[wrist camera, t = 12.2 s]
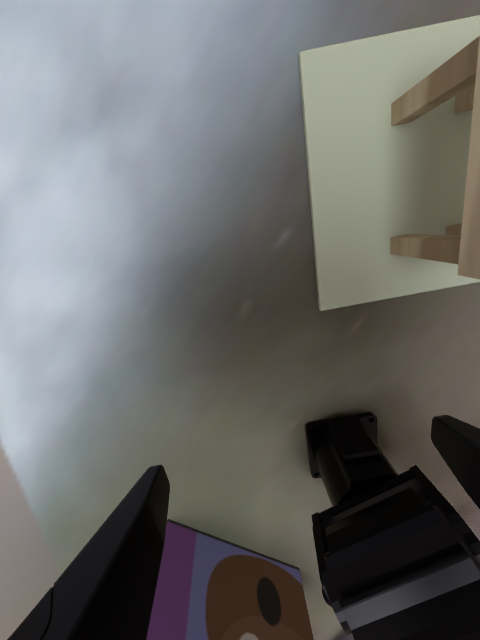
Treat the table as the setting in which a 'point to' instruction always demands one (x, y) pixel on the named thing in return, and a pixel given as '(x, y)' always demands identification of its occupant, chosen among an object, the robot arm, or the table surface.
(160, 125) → the table surface
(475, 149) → the beige wooden bench
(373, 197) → the mat
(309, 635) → the cereal box
